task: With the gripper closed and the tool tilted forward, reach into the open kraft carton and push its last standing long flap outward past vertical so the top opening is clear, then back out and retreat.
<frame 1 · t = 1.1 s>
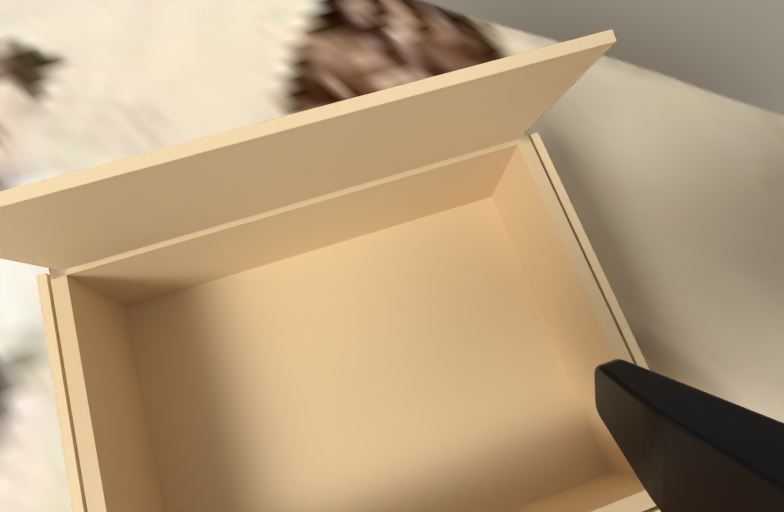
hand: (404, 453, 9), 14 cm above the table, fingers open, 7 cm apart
carton: (360, 388, 22), on the table
flap: (295, 168, 15), point 9 cm above the table, hinge at -12.0°
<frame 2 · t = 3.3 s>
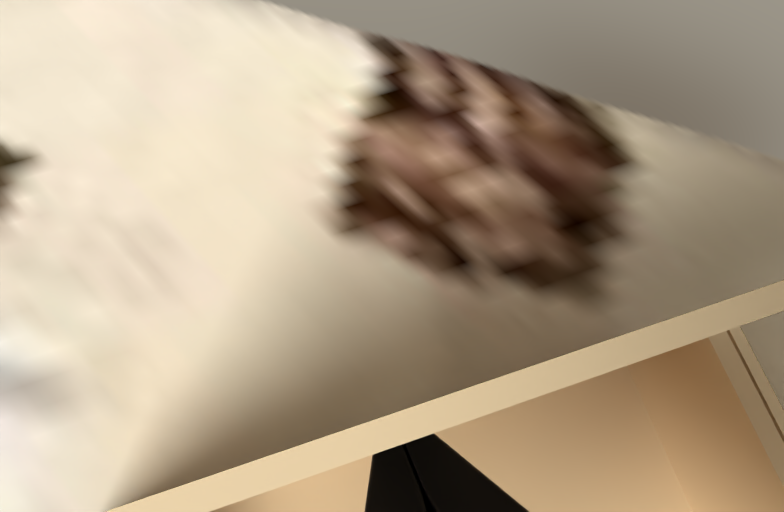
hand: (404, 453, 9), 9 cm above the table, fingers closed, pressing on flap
flap: (397, 430, 9), point 9 cm above the table, hinge at 0.2°, touching gripper
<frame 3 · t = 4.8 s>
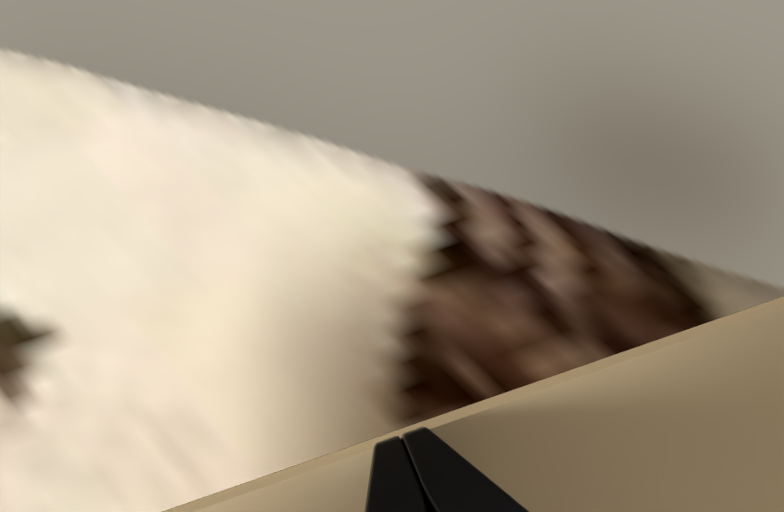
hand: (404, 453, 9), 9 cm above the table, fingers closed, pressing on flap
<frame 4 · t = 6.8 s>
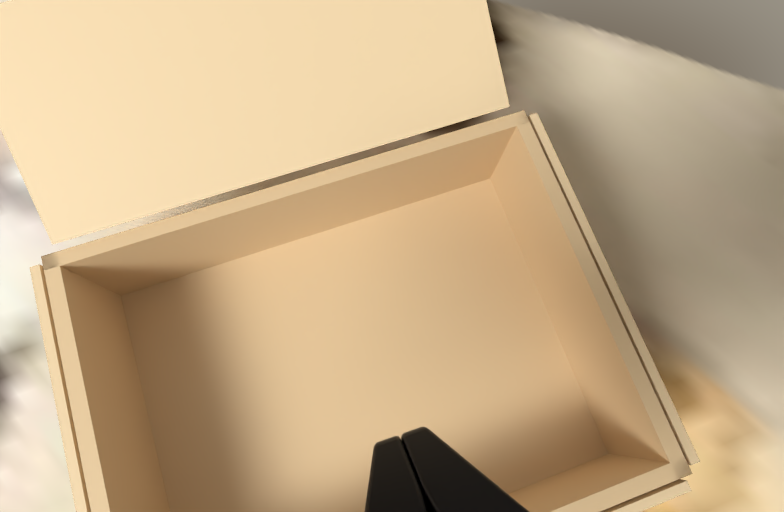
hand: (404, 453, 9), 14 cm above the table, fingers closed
carton: (359, 373, 22), on the table
flap: (258, 66, 18), point 7 cm above the table, hinge at 61.2°
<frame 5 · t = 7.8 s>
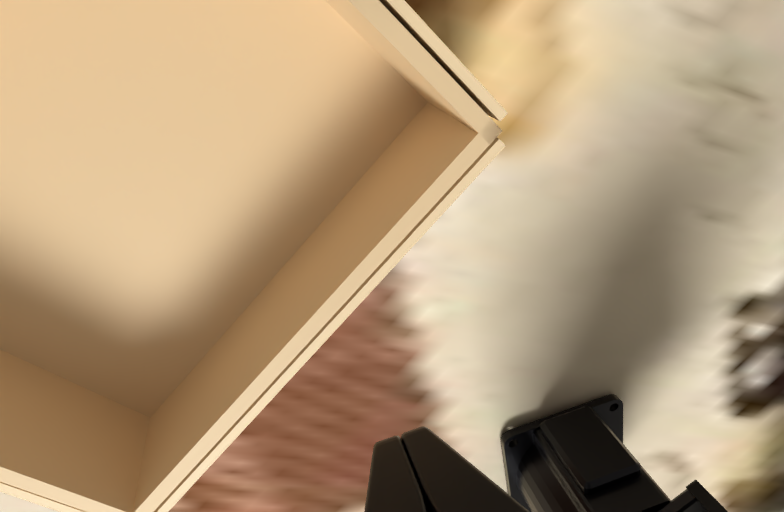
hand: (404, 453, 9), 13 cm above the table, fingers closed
carton: (133, 166, 18), on the table
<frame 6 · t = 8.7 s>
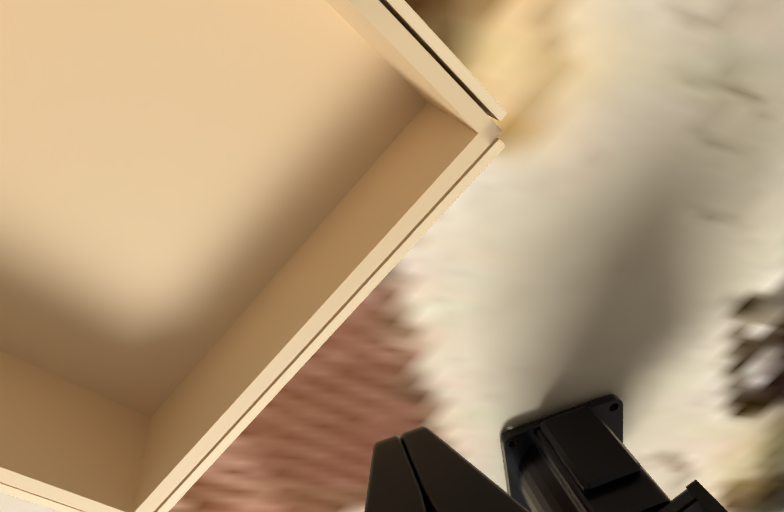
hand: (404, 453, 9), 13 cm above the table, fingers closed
carton: (132, 166, 18), on the table
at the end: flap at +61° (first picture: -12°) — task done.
